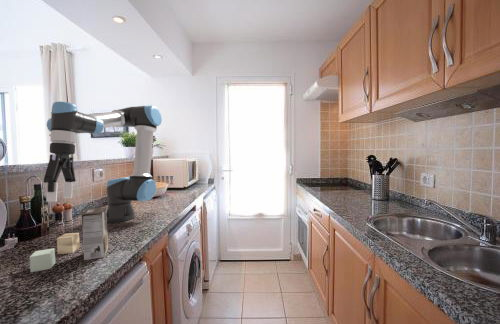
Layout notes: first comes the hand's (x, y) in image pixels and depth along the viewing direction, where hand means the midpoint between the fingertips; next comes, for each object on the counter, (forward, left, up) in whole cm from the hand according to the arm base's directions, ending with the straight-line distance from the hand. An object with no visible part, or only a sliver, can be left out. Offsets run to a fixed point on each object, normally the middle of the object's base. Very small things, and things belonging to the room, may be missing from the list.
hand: (60, 199), depth 89 cm
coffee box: (+5, +13, -20) cm, 25 cm away
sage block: (+12, 0, -20) cm, 23 cm away
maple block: (-1, +1, -20) cm, 20 cm away
